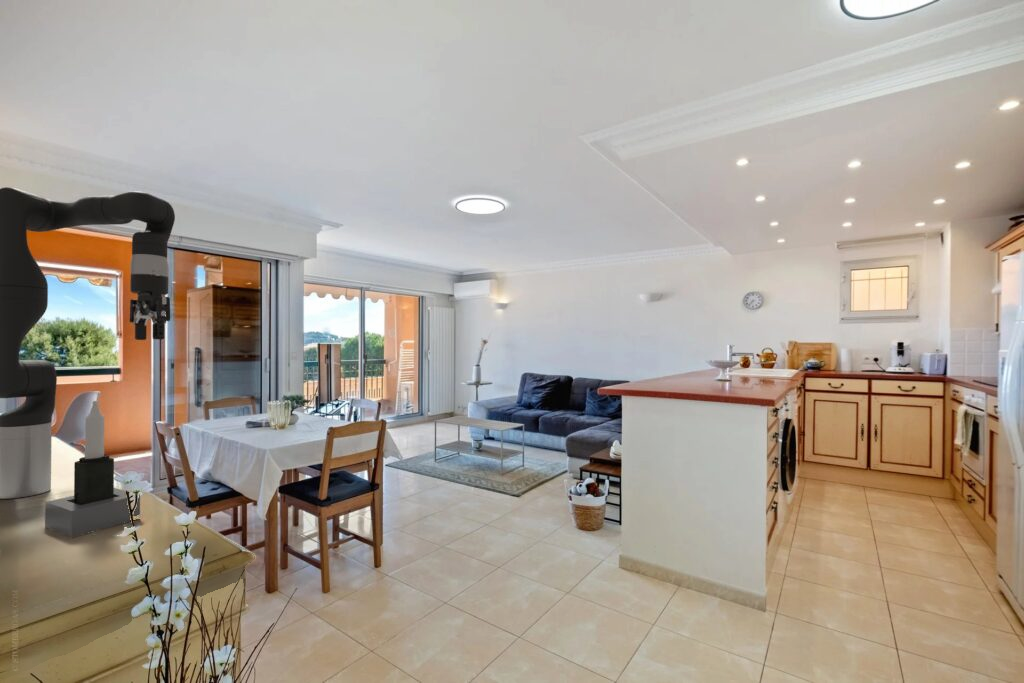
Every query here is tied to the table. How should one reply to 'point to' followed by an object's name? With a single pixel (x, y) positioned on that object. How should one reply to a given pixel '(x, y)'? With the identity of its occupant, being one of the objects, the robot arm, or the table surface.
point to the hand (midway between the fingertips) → (149, 339)
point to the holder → (87, 514)
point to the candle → (94, 463)
